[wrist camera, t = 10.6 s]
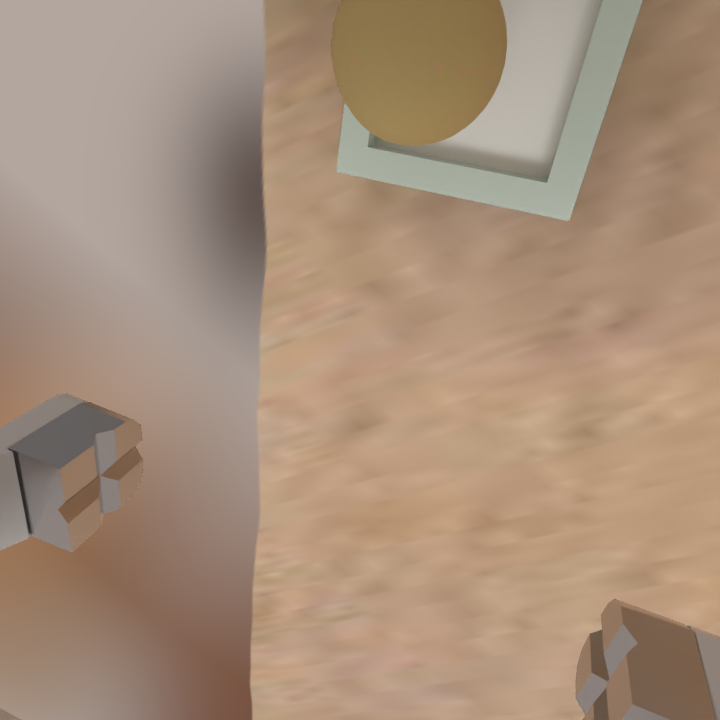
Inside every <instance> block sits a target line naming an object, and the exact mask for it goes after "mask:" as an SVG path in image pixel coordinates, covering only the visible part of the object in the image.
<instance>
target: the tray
mask: <svg viewBox="0 0 720 720" xmlns="http://www.w3.org/2000/svg"><path fill="white" fill-rule="evenodd" d="M642 1H643V0H500V2H501V5H502V8H503V12H504V17H505V21H506V30H507V51H506V59H505V65H504V69H503V72H502V76H501V79H500V82H499V85H498V87H497V89H496V91H495V93H494V95H493V97H492V98H491V100H490V101H489V103H488V105H487V106H486V108H485V109H484V110H483V111H482V112H481V113H480V114H479V116H478V117H477V118H476V119H475V120H474V121H473V122H472V123H471V124H469V125H468V126H467V127H466V128H465V129H463V130H461V131H460V132H458V133H457V134H455V135H454V136H452V137H450V138H447V139H445V140H442V141H440V142H437V143H433V144H427V145H422V146H407V145H399V144H395V143H391V142H387V141H385V140H383V139H381V138H379V137H377V136H375V135H373V134H372V133H371V132H369V131H368V130H367V129H366V128H365V127H363V126H362V125H361V124H360V122H359V121H358V120H357V119H356V118H355V117H354V115H353V114H352V112H351V111H350V109H349V108H348V106H347V105H346V103H344V111H343V119H342V127H341V135H340V144H339V152H338V160H337V168H336V172H338V173H343V174H348V175H352V176H357V177H362V178H367V179H371V180H376V181H381V182H386V183H390V184H395V185H400V186H404V187H409V188H414V189H419V190H423V191H428V192H433V193H438V194H442V195H447V196H452V197H457V198H461V199H466V200H471V201H475V202H480V203H485V204H490V205H494V206H499V207H504V208H509V209H513V210H518V211H523V212H528V213H532V214H537V215H542V216H546V217H551V218H556V219H561V220H565V221H569V219H570V216H571V213H572V211H573V208H574V205H575V202H576V199H577V196H578V193H579V190H580V187H581V184H582V181H583V178H584V175H585V172H586V169H587V166H588V163H589V160H590V157H591V154H592V151H593V148H594V145H595V142H596V139H597V136H598V133H599V130H600V127H601V124H602V121H603V118H604V115H605V112H606V109H607V106H608V103H609V100H610V97H611V94H612V91H613V88H614V85H615V82H616V79H617V76H618V73H619V70H620V67H621V64H622V61H623V58H624V55H625V52H626V49H627V46H628V43H629V40H630V37H631V34H632V31H633V28H634V25H635V22H636V19H637V16H638V13H639V10H640V7H641V4H642Z"/></svg>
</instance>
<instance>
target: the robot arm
mask: <svg viewBox="0 0 720 720" xmlns="http://www.w3.org/2000/svg"><path fill="white" fill-rule="evenodd" d="M141 441H142V431H141V425H140V424H139V423H137V422H136V421H135V420H133V419H131V418H128V417H126V416H123V415H121V414H118V413H116V412H113V411H111V410H108V409H106V408H103V407H101V406H98V405H96V404H93V403H91V402H86V401H84V400H82V399H79V398H77V397H74V396H72V395H70V394H59V395H56V396H54V397H52V398H51V399H49V400H47V401H45V402H43V403H42V404H40V405H38V406H36V407H35V408H33V409H31V410H29V411H28V412H26V413H24V414H22V415H21V416H19V417H17V418H16V419H14V420H12V421H10V422H8V423H7V424H5V425H3V426H2V427H0V550H2V549H4V548H6V547H9V546H11V545H14V544H16V543H18V542H21V541H23V540H25V539H28V538H29V535H31V536H33V537H36V538H38V539H40V540H43V541H45V542H48V543H50V544H53V545H55V546H58V547H60V548H62V549H65V550H67V551H70V552H73V551H74V550H75V549H76V548H77V547H78V546H79V545H81V544H82V543H83V542H84V541H85V540H86V539H87V538H88V537H89V536H90V535H91V534H93V533H94V532H95V531H96V530H97V529H98V528H99V527H100V526H101V525H102V519H103V514H104V513H107V512H110V511H113V510H116V509H119V508H121V507H122V506H123V505H124V504H125V503H126V502H127V501H128V500H129V499H130V498H131V497H132V496H133V494H134V492H135V490H136V489H137V487H138V486H139V484H140V482H141V478H142V474H143V458H142V457H141V455H140V454H139V452H138V450H137V449H136V446H137V445H138V444H139V443H140V442H141ZM601 620H602V630H600V631H597V632H594V633H591V634H589V636H588V638H587V640H586V642H585V644H584V646H583V648H582V651H581V654H580V658H579V661H578V665H577V673H576V700H577V701H578V703H579V705H580V707H581V708H582V710H583V712H584V714H585V717H584V718H583V720H720V637H719V636H716V635H714V634H711V633H708V632H705V631H702V630H700V629H697V628H694V627H691V626H686V625H684V624H682V623H680V622H677V621H674V620H671V619H669V618H666V617H663V616H660V615H658V614H655V613H652V612H649V611H647V610H644V609H641V608H638V607H636V606H633V605H630V604H627V603H625V602H622V601H619V600H616V599H614V600H612V601H611V602H609V603H608V604H607V606H606V608H605V609H604V611H603V613H602V614H601ZM0 720H21V719H19V718H17V717H16V716H14V715H12V714H10V713H8V712H6V711H4V710H3V709H1V708H0Z"/></svg>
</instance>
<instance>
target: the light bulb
mask: <svg viewBox="0 0 720 720" xmlns="http://www.w3.org/2000/svg"><path fill="white" fill-rule="evenodd" d="M331 47H332V61H333V68H334V73H335V76H336V80H337V84H338V87H339V90H340V92H341V94H342V96H343V99H344V101H345V103H346V105H347V106H348V108H349V109H350V111H351V112H352V114H353V115H354V117H355V118H356V119H357V120H358V121H359V122H360V124H361V125H362V126H363V127H365V128H366V129H367V130H368V131H369V132H371V133H372V134H373V135H375V136H377V137H379V138H381V139H383V140H385V141H387V142H391V143H395V144H399V145H407V146H422V145H427V144H433V143H437V142H440V141H442V140H445V139H447V138H450V137H452V136H454V135H455V134H457V133H458V132H460V131H461V130H463V129H465V128H466V127H467V126H468V125H469V124H471V123H472V122H473V121H474V120H475V119H476V118H477V117H478V116H479V114H480V113H481V112H482V111H483V110H484V109H485V108H486V106H487V105H488V103H489V101H490V100H491V98H492V97H493V95H494V93H495V91H496V89H497V87H498V85H499V82H500V79H501V76H502V72H503V69H504V65H505V59H506V51H507V30H506V21H505V17H504V12H503V8H502V5H501V2H500V0H342V2H341V4H340V6H339V8H338V11H337V15H336V18H335V21H334V25H333V32H332V40H331Z"/></svg>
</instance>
